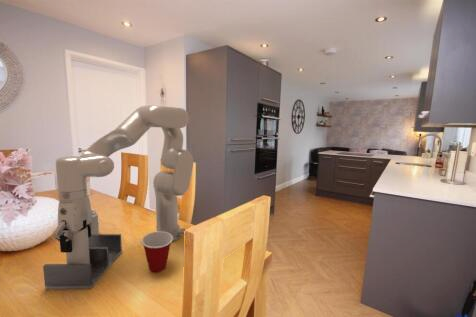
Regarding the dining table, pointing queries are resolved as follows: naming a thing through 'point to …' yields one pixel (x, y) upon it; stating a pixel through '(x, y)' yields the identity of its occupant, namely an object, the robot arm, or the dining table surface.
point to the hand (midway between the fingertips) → (77, 243)
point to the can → (94, 223)
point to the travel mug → (79, 247)
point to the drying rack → (85, 265)
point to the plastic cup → (157, 249)
